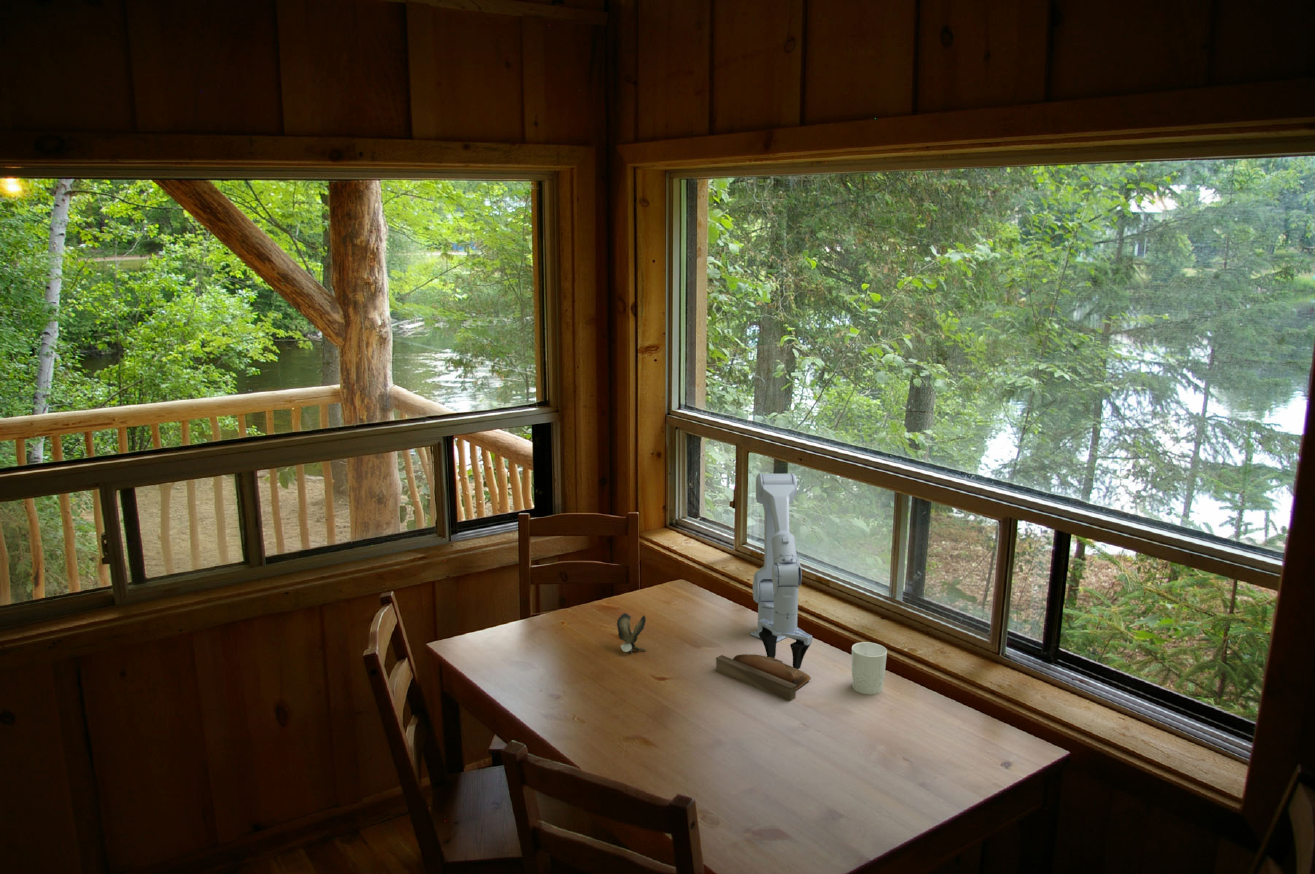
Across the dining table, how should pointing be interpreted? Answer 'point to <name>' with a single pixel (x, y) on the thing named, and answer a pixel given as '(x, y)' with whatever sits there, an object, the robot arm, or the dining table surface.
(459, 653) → the dining table surface
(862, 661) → the white cup
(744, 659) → the sunglasses case
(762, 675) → the walnut stop rail
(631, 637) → the eagle figurine
